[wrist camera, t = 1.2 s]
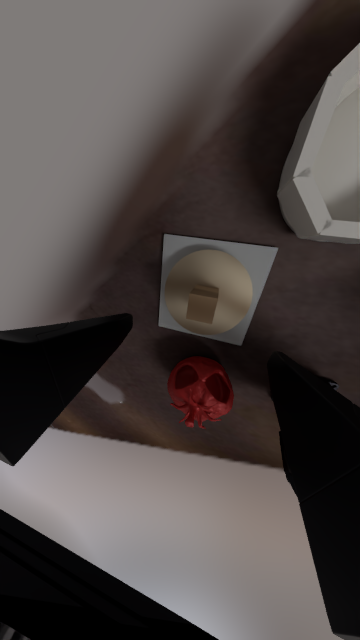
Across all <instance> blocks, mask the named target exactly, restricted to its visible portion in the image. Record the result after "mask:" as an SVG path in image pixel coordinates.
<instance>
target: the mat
mask: <svg viewBox="0 0 360 640" xmlns="http://www.w3.org/2000/svg"><path fill="white" fill-rule="evenodd" d="M200 250H218V251H222V252H225V253H228V254H229V255H231V256H233V257H234V258H236V259H237V260H238V261H239V262H240V263H241V264H242V265H243V266H244V267H245V269H246V270H247V272H248V274H249V276H250V279H251V282H252V288H253V296H252V302H251V305H250V308H249V310H248V312H247V314H246V315H245V317H244V318H243V319H242V320H241V321H240V322H239V323H238V324H237V325H236V326H235V327H233V328H232V329H230V330H228V331H226V332H223V333H220V334H215V335H202V334H197V333H193V332H191V331H189V330H187V329H185V328H183V327H182V326H181V325H179V324H178V323H177V322H176V321H175V320H174V318H173V317H172V316H171V314H170V312H169V310H168V308H167V305H166V301H165V284H166V280H167V277H168V275H169V273H170V271H171V270H172V268H173V267H174V266H175V264H176V263H177V262H178V261H179V260H181V259H182V258H183V257H185V256H187V255H188V254H191V253H193V252H196V251H200ZM277 250H278V248H275V247H267V246H259V245H251V244H242V243H234V242H226V241H218V240H210V239H201V238H193V237H185V236H177V235H169V234H164V244H163V260H162V277H161V293H160V310H159V326H161V327H165V328H169V329H173V330H177V331H182V332H186V333H190V334H194V335H198V336H202V337H207V338H211V339H215V340H219V341H223V342H227V343H231V344H236V345H240V346H241V345H242V342H243V340H244V337H245V335H246V332H247V329H248V327H249V324H250V321H251V319H252V316H253V314H254V311H255V308H256V306H257V303H258V300H259V298H260V295H261V292H262V290H263V287H264V285H265V282H266V279H267V277H268V274H269V271H270V269H271V266H272V264H273V261H274V258H275V256H276V253H277Z"/></svg>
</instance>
